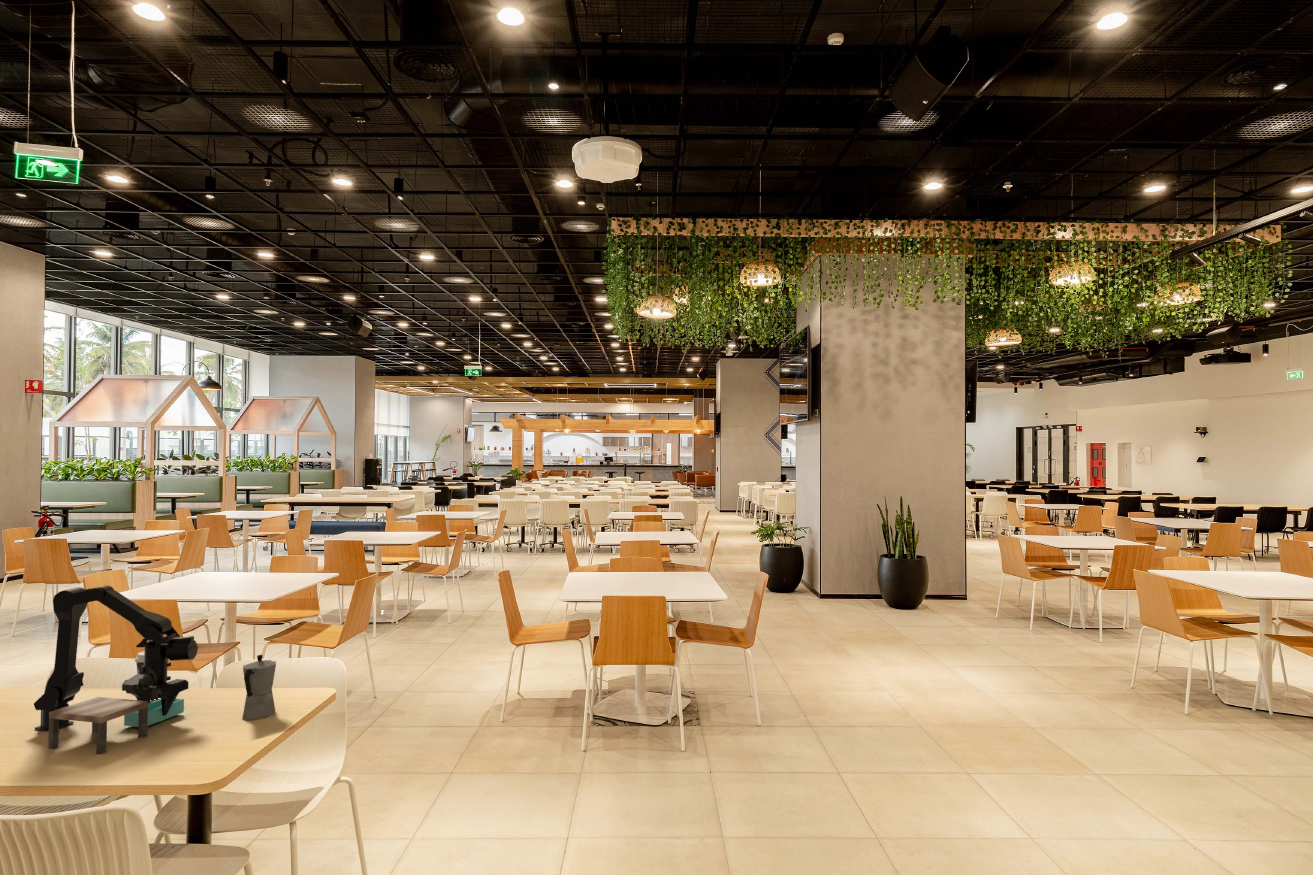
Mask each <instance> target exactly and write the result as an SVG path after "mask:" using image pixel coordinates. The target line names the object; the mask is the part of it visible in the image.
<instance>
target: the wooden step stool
mask: <svg viewBox="0 0 1313 875" xmlns="http://www.w3.org/2000/svg"><path fill="white" fill-rule="evenodd" d="M138 710H139V713H138V727H137V728H138V729H137V738H139V739H143V738H146V737H148V727H149V726H148V701H140V700H137V699H127V698H113V697H100V696H96V697H94V698H90V699H88V700H84V701H80V702H77V703H74V704H71V705H69V706H67V707H64V708H61V709H58V710H55V711H51V712H49V731H48V742H47V744H48V746H47V748H48V749H49V750H55V749H57V748H59V746H60V745H59V742H60V741H59V738H60V737H59V736H60V728H59V719H62V720H69V721H73V722H84V723H91V734H96V745H95V746H96V748H95V749H96V750H95V751H96V752H95V753H96V755H102V754H106V753H107V743H108V742H107V740H108V737H107V736H108V722H109V721H111V720H115V719H117V718H120V717H124V715H126V714H129V713H132V712H135V711H138Z"/></svg>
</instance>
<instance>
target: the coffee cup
mask: <svg viewBox="0 0 1313 875" xmlns="http://www.w3.org/2000/svg"><path fill="white" fill-rule="evenodd" d="M134 662H135V663H136V675H137V674H138V673H139V669H140V667H141V666H144V650H143V651H140V652H138V653H137V656H136V657H135V658H134ZM161 693H162V692H161V689H157V688H153V691H152V696H151V700H154V699H158V698H160V697H159V696H158V694H161ZM158 700H159V699H158ZM154 701H155V700H154Z"/></svg>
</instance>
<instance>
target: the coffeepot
mask: <svg viewBox="0 0 1313 875" xmlns="http://www.w3.org/2000/svg"><path fill="white" fill-rule="evenodd" d="M263 658H264V657H263V654H257V655H256V659H257V661H253V662H250V663H247V664H245V665H243V666H242V671H243V672H242V673H243V680H244V685H245V690H246V697H245V701H244V708H243V712H242V713H243V714H242V719H243V720H247V721H256V720H257V719H258V720H262V719H261V718H264V719H267V718H270V717H272V716H274V715H275V714H276V706H275V702H274V701H275V700H274V693H273V685H274V680H275V674H276V673H275V672H276V666H277V661H275V660H272V659H268V660H267V659H265V660H263ZM273 714H274V715H273ZM271 715H272V716H271ZM269 716H270V717H269ZM266 717H267V718H266Z"/></svg>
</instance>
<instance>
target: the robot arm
mask: <svg viewBox="0 0 1313 875" xmlns="http://www.w3.org/2000/svg"><path fill="white" fill-rule="evenodd" d="M91 602H99V603H100V604H101V605H104V606H105V607H107V608H108V609H109V610H111V611H112V612H114V613H115V614H117V615H119V616H120V617H122V618H123V619H125V620H126V621H128V622H129V623H130V624H131V625H132V626H134V629H135V631H136V632H137V633H138V634H139V635H140V637H141V636H142V638H143V639H142V640H141V641H140V642H139V643H138V644H136V646H135V647H136V648H144V650H143V651H144V666H141V667H140V669H139V673H138V674H137V673H136V674H135V675H133V676H131V677H130V678H128V679H125V680H124V681H123V683H122V685H121V691H122V692H124V691H125V694H129V695H132V696H134V697H135V698H136V700H140V701H148V703H151V701H150V700H151V696H152V691H153V688H157V689H161V692H162V693H161V694H158V696H159V697H160V698H161V702H162V715H163V716H165V715H167V713H168V711H169V709H170V708H171V706H172V704H173V702H174V700H175V699H176V698H177V697H178V695H179V693H181V692H183V691H186V690H189V685H190V684H189V681H188V680H187V679H182V678H176V679H173V680H171V679H172V677H171V676H169V675H168V668H169V667H171V666H172V661H173V662H174V661H192V660H194V659H195V658H196V656H197V654H198V648H199V645H198V644H197V641H196V640H195V636H194V635H191V636H190V635H188V636H183V637H182V636H181V635H180V634H179V633H178V632H177V630H176V629H175V628H174V626H173V625H172V622H173V621H171V619H170V618H168V617H166V616H164V615H162V614H160V613H157V612H151V611H148V610H147V609H144V608H143V607H142V606H140V605H138V604H136V603H135V602H133V601H132V600H131V599H129V598H127V597H126V596H125V595H123V594H121V593H120V592H118V591H117V590H116V589H114V587H113V586H112V585H102V586H98V587H92V588H83V587H81V586H79V587H73V588H69V589H65V590H61V591H59V592H57V593H55V595H54V596H53V598H52V606H53V607H52V608H53V613H54V614H55V616H56V619H57V621H58V624H57V625H58V626H57V636H56V648H55V656H54V658H55V659H54V668H53V671H52V673H51V674H50V677H49V678H48V680H47V681H46V685H45V688H44V692H43V694H42V695H41V696H39V698H38V699H37V700H35V701H34V703H33V707H34V710H35V711H40V725H39V726H35V727H34V730H37V731H38V730H39V731H48V732H49V712H51V711H55V710H58V709H61V708H64V707H67V706H70V704H69V702H71V701H74V699H75V697H76V695H77V694H78V693H79V692H80V691H81V687H83V686H84V682H83V681H84V680H83V679H84V676H85V672H83V671H82V672H80V671H78V669H77V666H76V664H77V657H78V656H77V653H78V643H79V633H80V622H81V618H82V616H83V614H84V612H85V611H86V609H87V606H88V603H91ZM169 660H170V661H171V662H169ZM74 722H75V721H73V720H62V719H59V729H61V728H64V727H66V726H67V727H68V726H70V725H73V724H75V723H74Z"/></svg>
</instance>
